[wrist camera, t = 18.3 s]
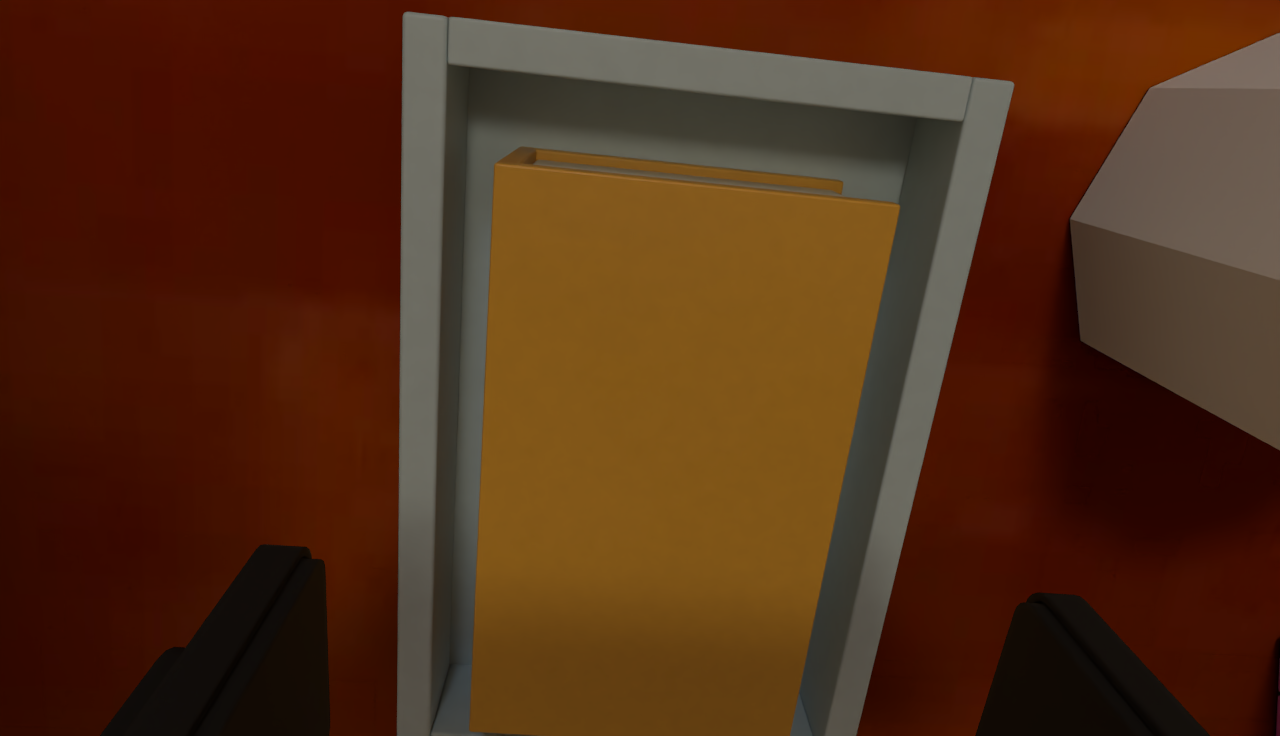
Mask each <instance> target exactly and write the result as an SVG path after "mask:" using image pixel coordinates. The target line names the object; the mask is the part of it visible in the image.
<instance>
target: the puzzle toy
mask: <svg viewBox="0 0 1280 736" xmlns="http://www.w3.org/2000/svg"><path fill="white" fill-rule="evenodd" d="M1278 691H1279V692H1278V703H1277V725H1276V736H1280V660H1279V682H1278Z"/></svg>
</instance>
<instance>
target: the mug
mask: <svg viewBox="0 0 1280 736" xmlns="http://www.w3.org/2000/svg"><path fill="white" fill-rule="evenodd" d="M1070 227H1071V238H1072V250H1073V261H1074V272H1075V284H1076V295H1077V307H1078V318H1079V329H1080V341H1082V342H1084V343H1085V344H1087V345H1089V346H1091V347H1093V348H1094V349H1096V350H1098V351H1100V352H1102V353H1104V354H1105V355H1107V356H1109V357H1111V358H1113V359H1114V360H1116V361H1118V362H1120V363H1122V364H1123V365H1125V366H1127V367H1129V368H1131V369H1132V370H1134V371H1136V372H1138V373H1140V374H1141V375H1143V376H1145V377H1147V378H1149V379H1150V380H1152V381H1154V382H1156V383H1158V384H1159V385H1161V386H1163V387H1165V388H1167V389H1168V390H1170V391H1172V392H1174V393H1176V394H1177V395H1179V396H1181V397H1183V398H1185V399H1187V400H1188V401H1190V402H1192V403H1194V404H1196V405H1198V406H1199V407H1201V408H1203V409H1205V410H1207V411H1209V412H1210V413H1212V414H1214V415H1216V416H1218V417H1220V418H1221V419H1223V420H1225V421H1227V422H1229V423H1231V424H1232V425H1234V426H1236V427H1238V428H1240V429H1241V430H1243V431H1245V432H1247V433H1249V434H1251V435H1252V436H1254V437H1256V438H1258V439H1260V440H1262V441H1263V442H1265V443H1267V444H1269V445H1271V446H1273V447H1274V448H1276V449H1278V450H1280V33H1278V34H1275V35H1273V36H1271V37H1268V38H1266V39H1264V40H1261V41H1259V42H1257V43H1254V44H1252V45H1250V46H1247V47H1245V48H1242V49H1240V50H1238V51H1235V52H1233V53H1231V54H1228V55H1226V56H1224V57H1221V58H1219V59H1217V60H1214V61H1212V62H1210V63H1207V64H1205V65H1203V66H1200V67H1198V68H1195V69H1193V70H1191V71H1188V72H1186V73H1184V74H1181V75H1179V76H1177V77H1174V78H1172V79H1170V80H1167V81H1165V82H1163V83H1160V84H1158V85H1156V86H1153V87H1151V88H1149V90H1148V92H1147V93H1146V95H1145V96H1144V98H1143V100H1142V101H1141V103H1140V105H1139V106H1138V108H1137V110H1136V111H1135V113H1134V114H1133V116H1132V118H1131V119H1130V121H1129V123H1128V124H1127V126H1126V128H1125V129H1124V131H1123V133H1122V134H1121V136H1120V137H1119V139H1118V141H1117V142H1116V144H1115V146H1114V147H1113V149H1112V151H1111V152H1110V154H1109V155H1108V157H1107V159H1106V160H1105V162H1104V164H1103V165H1102V167H1101V169H1100V170H1099V172H1098V174H1097V175H1096V177H1095V178H1094V180H1093V182H1092V183H1091V185H1090V187H1089V188H1088V190H1087V192H1086V193H1085V195H1084V196H1083V198H1082V200H1081V201H1080V203H1079V205H1078V206H1077V208H1076V210H1075V211H1074V213H1073V215H1072V216H1071V218H1070Z"/></svg>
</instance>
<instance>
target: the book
mask: <svg viewBox="0 0 1280 736" xmlns="http://www.w3.org/2000/svg"><path fill="white" fill-rule="evenodd" d="M843 184H844V183H843V182H842V181H840V180H837V179H828V178H818V177H809V176H799V175H790V174H780V173H771V172H761V171H752V170H742V169H733V168H723V167H714V166H704V165H695V164H685V163H676V162H666V161H657V160H647V159H638V158H628V157H619V156H609V155H600V154H590V153H581V152H571V151H562V150H552V149H543V148H533V147H524V146H521V147H519V148H517V149H516V150H514V151H513V152H511V153H510V154H508V155H507V156H505V157H504V158H502V159H501V160H499V161H498V162H496V163H495V165H494V179H493V201H492V224H491V246H490V269H489V291H488V314H487V336H486V359H485V381H484V404H483V426H482V449H481V471H480V494H479V516H478V539H477V561H476V584H475V606H474V629H473V651H472V674H471V696H470V718H469V731H470V732H484V733H502V734H519V735H537V736H790V733H791V728H792V724H793V719H794V714H795V709H796V705H797V700H798V695H799V690H800V685H801V681H802V676H803V671H804V666H805V661H806V657H807V652H808V647H809V642H810V637H811V633H812V628H813V623H814V618H815V614H816V609H817V604H818V599H819V594H820V590H821V585H822V580H823V575H824V570H825V566H826V561H827V556H828V551H829V547H830V542H831V537H832V532H833V527H834V523H835V518H836V513H837V508H838V503H839V499H840V494H841V489H842V484H843V479H844V475H845V470H846V465H847V460H848V456H849V451H850V446H851V441H852V436H853V432H854V427H855V422H856V417H857V412H858V408H859V403H860V398H861V393H862V388H863V384H864V379H865V374H866V369H867V365H868V360H869V355H870V350H871V345H872V341H873V336H874V331H875V326H876V321H877V317H878V312H879V307H880V302H881V298H882V293H883V288H884V283H885V278H886V274H887V269H888V264H889V259H890V254H891V250H892V245H893V240H894V235H895V230H896V226H897V221H898V216H899V211H900V205H898V204H896V203H894V202H888V201H878V200H869V199H859V198H850V197H845V196H843V195H842V190H843Z"/></svg>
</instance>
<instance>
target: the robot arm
mask: <svg viewBox="0 0 1280 736" xmlns="http://www.w3.org/2000/svg"><path fill="white" fill-rule="evenodd" d="M329 731H330V703H329V671H328V639H327V608H326V576H325V564H324V561H323V560H321V559H312V558H311V553H310V550H309V549H308V548H307V547H297V546H281V545H265V544H264V545H260V546H259V547H258V548H257V549H256V550H255V552H254V553H253V555H252V556H251V557H250V559H249V560H248V562H247V563H246V564H245V566H244V567H243V568H242V570H241V571H240V573H239V574H238V575H237V577H236V578H235V580H234V581H233V582H232V584H231V585H230V587H229V588H228V589H227V591H226V592H225V594H224V595H223V596H222V598H221V599H220V601H219V602H218V603H217V605H216V606H215V607H214V609H213V610H212V612H211V613H210V614H209V616H208V617H207V619H206V620H205V621H204V623H203V624H202V626H201V627H200V628H199V630H198V631H197V633H196V634H195V635H194V637H193V638H192V640H191V641H190V642H189V644H188V645H187V647H186V648H181V647H173V648H171V649H169V650H166V651H165V652H164V653H163V654H162V655H161V656H160V657H159V658H158V659H157V660H156V662H155V663H154V664H153V666H152V667H151V668H150V670H149V671H148V672H147V674H146V675H145V676H144V678H143V679H142V680H141V682H140V683H139V684H138V686H137V687H136V688H135V690H134V691H133V692H132V694H131V695H130V696H129V698H128V699H127V700H126V702H125V703H124V704H123V706H122V707H121V708H120V710H119V711H118V712H117V714H116V715H115V716H114V718H113V719H112V720H111V722H110V723H109V724H108V726H107V727H106V728H105V730H104V731H103V732H102V734H101V735H100V736H329ZM976 736H1210V735H1209V734H1208V733H1207V732H1206V731H1205V730H1204V729H1203V728H1202V727H1201V725H1200V724H1199V723H1198V722H1197V721H1196V720H1195V719H1194V718H1193V717H1192V716H1191V715H1190V714H1189V712H1188V711H1187V710H1186V709H1185V708H1184V707H1183V706H1182V705H1181V704H1180V703H1179V702H1178V700H1177V699H1176V698H1175V697H1174V696H1173V695H1172V694H1171V693H1170V692H1169V691H1168V690H1167V689H1166V687H1165V686H1164V685H1163V684H1162V683H1161V682H1160V681H1159V680H1158V679H1157V678H1156V677H1155V676H1154V674H1153V673H1152V672H1151V671H1150V670H1149V669H1148V668H1147V667H1146V666H1145V665H1144V664H1143V663H1142V661H1141V660H1140V659H1139V658H1138V657H1137V656H1136V655H1135V654H1134V653H1133V652H1132V651H1131V650H1130V648H1129V647H1128V646H1127V645H1126V644H1125V643H1124V642H1123V641H1122V640H1121V639H1120V638H1119V637H1118V635H1117V634H1116V633H1115V632H1114V631H1113V630H1112V629H1111V628H1110V627H1109V626H1108V625H1107V624H1106V622H1105V621H1104V620H1103V619H1102V618H1101V617H1100V616H1099V615H1098V614H1097V613H1096V612H1095V611H1094V609H1093V608H1092V607H1091V606H1090V605H1089V604H1088V603H1087V602H1086V601H1085V600H1084V599H1082V598H1081V597H1080V596H1076V595H1067V594H1051V593H1035V594H1032V595H1031V596H1030V597H1029V598H1028V599H1027V602H1026V603H1020V604H1019V605H1018V606H1017V608H1016V610H1015V612H1014V615H1013V618H1012V621H1011V624H1010V628H1009V631H1008V634H1007V637H1006V640H1005V643H1004V647H1003V650H1002V653H1001V656H1000V659H999V663H998V666H997V669H996V672H995V675H994V678H993V682H992V685H991V688H990V691H989V694H988V697H987V701H986V704H985V707H984V710H983V713H982V716H981V720H980V723H979V726H978V729H977V732H976Z"/></svg>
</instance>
